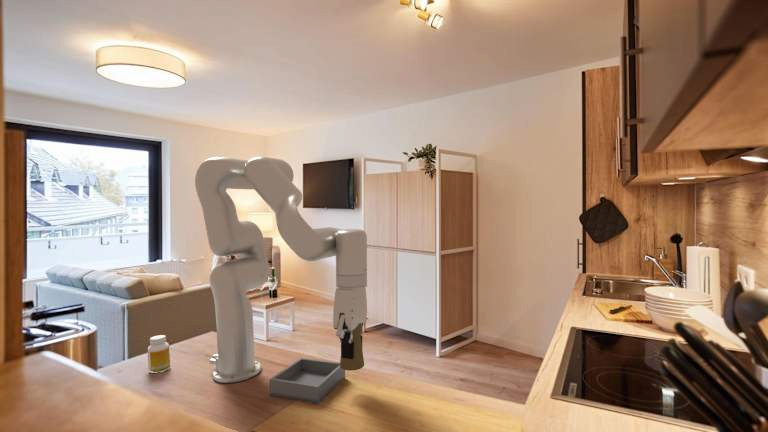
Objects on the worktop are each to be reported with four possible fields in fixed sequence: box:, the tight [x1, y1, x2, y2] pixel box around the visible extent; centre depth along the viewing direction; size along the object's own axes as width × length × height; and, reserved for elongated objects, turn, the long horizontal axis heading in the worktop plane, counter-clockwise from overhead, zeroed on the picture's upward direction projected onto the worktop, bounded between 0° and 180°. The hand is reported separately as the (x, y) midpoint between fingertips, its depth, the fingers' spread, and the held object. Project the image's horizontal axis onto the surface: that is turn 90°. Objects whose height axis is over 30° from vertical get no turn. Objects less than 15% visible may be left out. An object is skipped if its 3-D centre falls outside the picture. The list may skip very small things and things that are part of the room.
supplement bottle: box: [147, 334, 171, 372], centre depth 110 cm, size 5×5×10 cm
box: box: [268, 357, 346, 405], centre depth 96 cm, size 14×14×4 cm
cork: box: [339, 323, 365, 371], centre depth 93 cm, size 6×6×11 cm
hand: (351, 353), depth 93 cm, fingers closed on cork, 4 cm apart
